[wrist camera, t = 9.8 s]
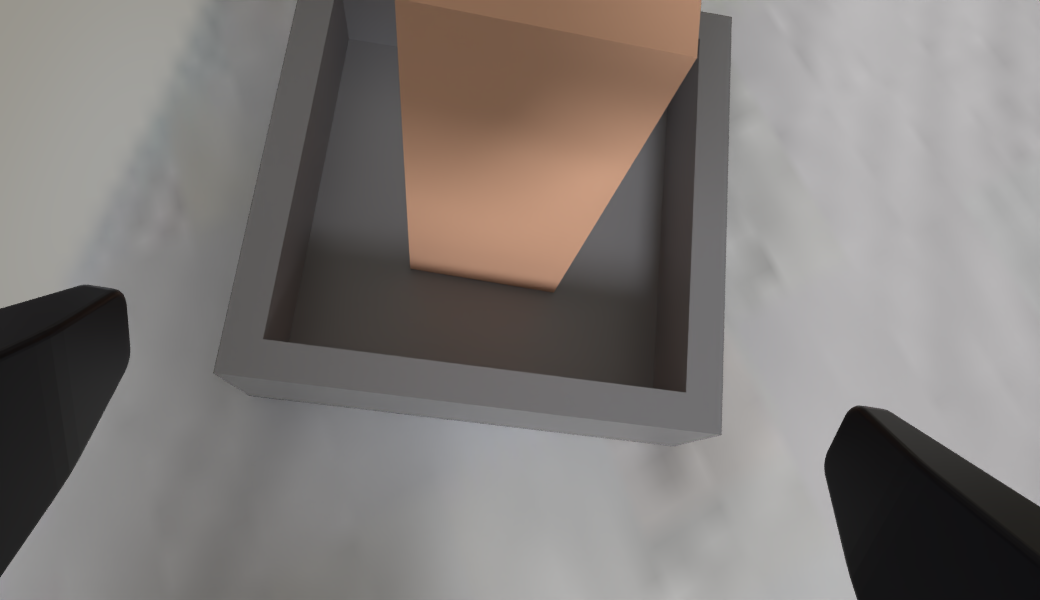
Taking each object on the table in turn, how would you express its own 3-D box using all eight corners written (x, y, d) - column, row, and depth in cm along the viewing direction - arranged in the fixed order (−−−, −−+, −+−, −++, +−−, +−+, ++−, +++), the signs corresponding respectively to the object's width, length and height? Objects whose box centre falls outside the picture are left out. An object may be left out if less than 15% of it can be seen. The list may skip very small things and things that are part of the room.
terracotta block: (553, 292, 23) (696, 57, 11) (410, 268, 22) (394, -3, 10) (569, 163, 24) (714, -174, 12) (434, 139, 24) (445, -235, 12)
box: (674, 446, 23) (721, 435, 19) (248, 395, 22) (213, 373, 18) (689, 84, 26) (731, 16, 23) (326, 23, 25) (310, -58, 22)
